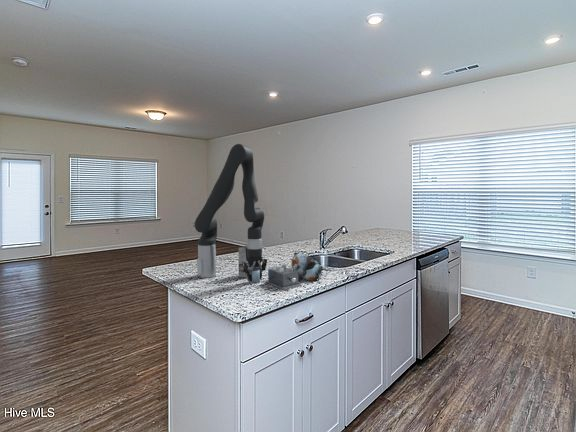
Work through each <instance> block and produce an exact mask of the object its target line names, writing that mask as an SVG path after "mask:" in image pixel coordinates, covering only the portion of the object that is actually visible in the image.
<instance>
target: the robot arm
mask: <svg viewBox="0 0 576 432" xmlns="http://www.w3.org/2000/svg"><path fill="white" fill-rule="evenodd" d="M240 165H241V170H242V173H243V174H242V175H243V176H242V183H241V184H242V185H241V191H242V196H243V200H244V202H243V203H244V204H243V206H244V207H243V216H244V218H245V221H247V222H248V223H251V226H249V227H248V228H247V243H246V246H247V256H248V259H247V261H245V262H242V265H243V270H244V273H247V274H248V278H247V281H249V282H250V281H252V270H253V269H254V267H257V268H258V269H259V270H260V281H261V280H262V278H263V272H264V271H266V269H267V265H268V264H267V263H268V259H266V258H263V239H262V237H263V236H262V235H263V233H262V230H263V226H264V221H265V213H264V210H263V208H261V207H256V206H255V205H256V203H257V202H258V201H259V195H258V192H257V191H258V190H257V186H256V181H255V167H254V166H255V165H254V153H253V150H252V148H251V147H249V146H248V145H245V144H241V143H237V144H234V145H233V146H232V147H231V148H230V150H229V153H228V156H227V157H226V161H225V162H224V165H223V168H222V170H221V172H220V174H219V176H218V178H217V180H216V182H215V184H214V185H213V187H212V190H211V192H210V194H209V196H208V198H207V200H206V202H205V204H204V206H203V208H202V209H201V210H200V212H199V214H198V215H197V217H196V218H195V220H194V228H195V231H196V232H198V233H201V236H200V237H199V238H198V240H197V253H198V254H197V257H198V258H196V267H197V269H196V270H197V271H196V273H197V274H196V275H197V277H199V278H200V279H203V278H205V279H207V278H214V277H215V276H217V258H216V257H217V256H216V254H217V253H216V252H217V249H216V241H217V237H218V221H217V218H216V217H215V215H216V213H217V212H218V210H219V209H220V208H221V207H222V206H223V205H224V204H225V203H226V202H227V200H229V198H230V196H231V194H232V192H233V190H234V187H235V176H236V174H237V170H238V169H239V167H240ZM247 264H249V266H248V268H247Z"/></svg>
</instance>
